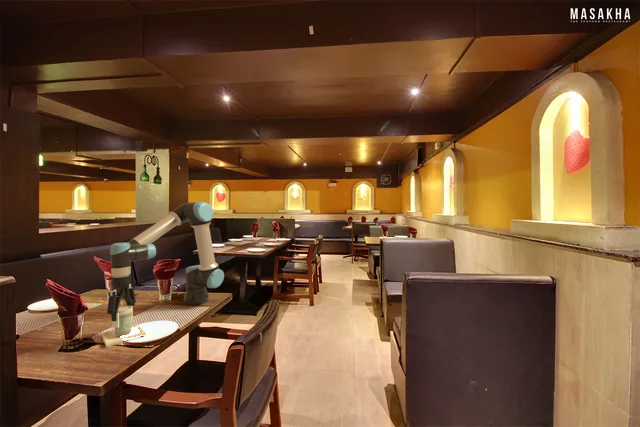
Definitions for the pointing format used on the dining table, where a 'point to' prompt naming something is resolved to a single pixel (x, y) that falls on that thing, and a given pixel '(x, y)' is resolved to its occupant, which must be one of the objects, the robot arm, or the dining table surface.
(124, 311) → the coffee cup
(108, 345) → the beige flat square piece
